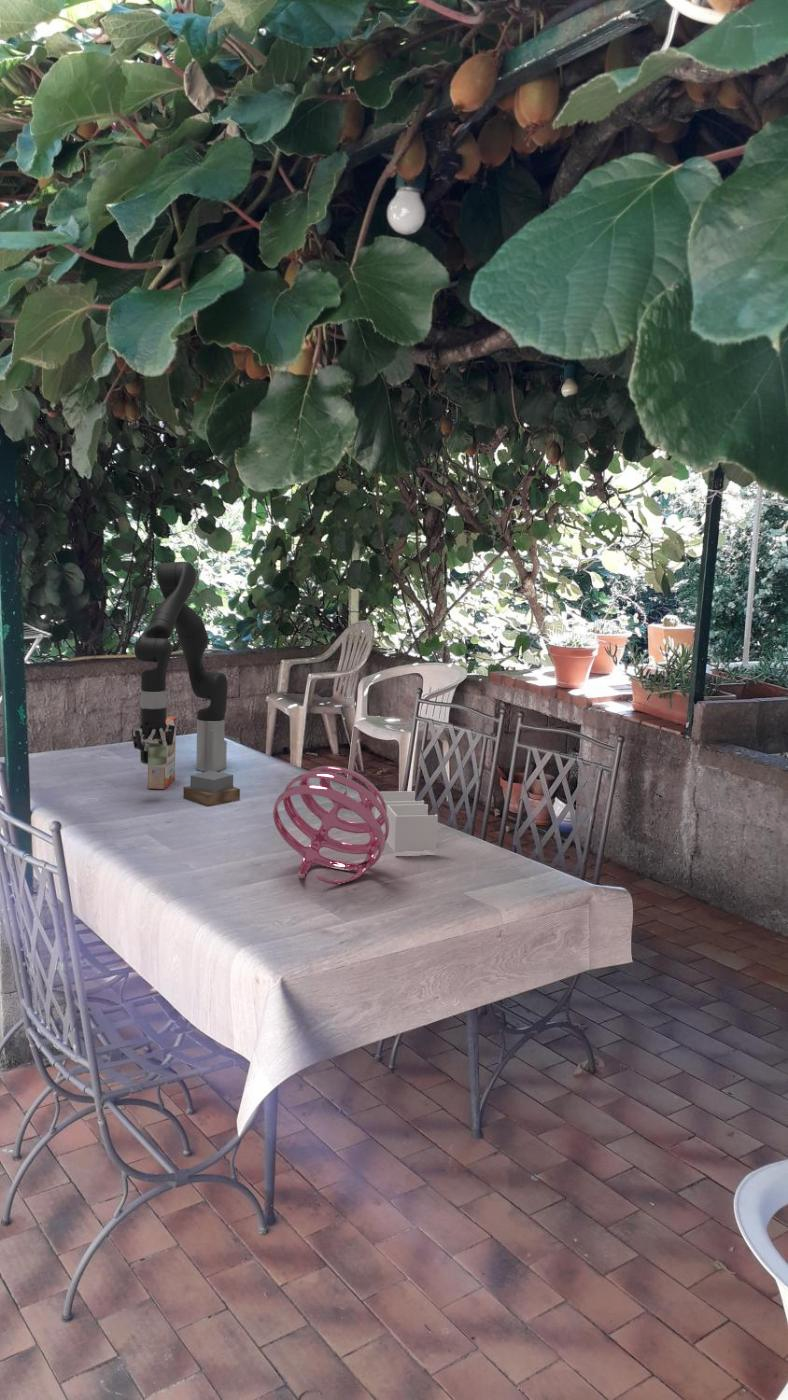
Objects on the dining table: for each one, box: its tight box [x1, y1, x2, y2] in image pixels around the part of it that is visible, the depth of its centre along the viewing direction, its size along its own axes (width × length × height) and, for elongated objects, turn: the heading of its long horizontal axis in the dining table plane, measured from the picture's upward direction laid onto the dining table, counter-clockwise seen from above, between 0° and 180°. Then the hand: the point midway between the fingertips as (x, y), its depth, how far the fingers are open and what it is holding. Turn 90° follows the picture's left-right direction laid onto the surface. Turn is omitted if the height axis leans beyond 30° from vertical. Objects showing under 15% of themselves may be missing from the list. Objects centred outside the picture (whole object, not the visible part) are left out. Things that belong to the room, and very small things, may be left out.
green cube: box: [139, 742, 167, 766], centre depth 308 cm, size 6×6×6 cm
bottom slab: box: [182, 785, 241, 808], centre depth 314 cm, size 12×12×4 cm
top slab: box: [189, 771, 234, 793], centre depth 313 cm, size 9×9×4 cm
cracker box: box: [147, 716, 177, 790], centre depth 328 cm, size 14×6×21 cm, turn 179°
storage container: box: [374, 790, 439, 852], centre depth 278 cm, size 25×11×11 cm, turn 13°
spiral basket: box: [272, 765, 389, 885], centre depth 247 cm, size 28×28×27 cm
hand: (153, 761), depth 309 cm, fingers closed on green cube, 5 cm apart
